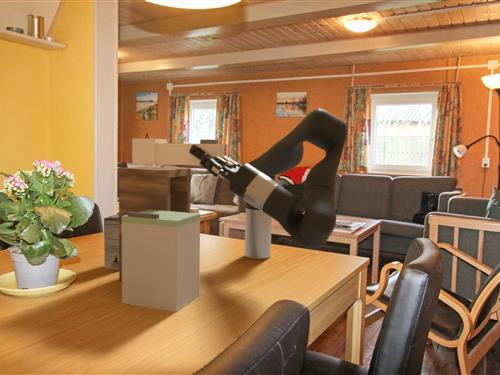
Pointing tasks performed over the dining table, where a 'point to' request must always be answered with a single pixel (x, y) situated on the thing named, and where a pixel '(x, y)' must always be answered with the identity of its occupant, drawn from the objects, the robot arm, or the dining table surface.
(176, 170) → the walnut bridge
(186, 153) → the stepped cream block
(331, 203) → the robot arm
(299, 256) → the dining table surface
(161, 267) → the green-lidded white box
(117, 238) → the coffee box
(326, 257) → the dining table surface
